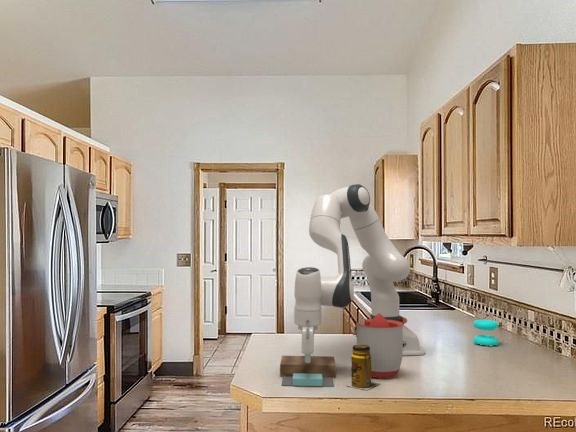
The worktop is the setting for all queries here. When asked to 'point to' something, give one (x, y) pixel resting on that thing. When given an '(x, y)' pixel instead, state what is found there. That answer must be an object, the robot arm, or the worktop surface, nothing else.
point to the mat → (325, 383)
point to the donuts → (487, 326)
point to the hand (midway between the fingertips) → (307, 361)
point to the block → (307, 379)
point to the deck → (308, 366)
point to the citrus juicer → (382, 344)
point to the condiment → (361, 368)
